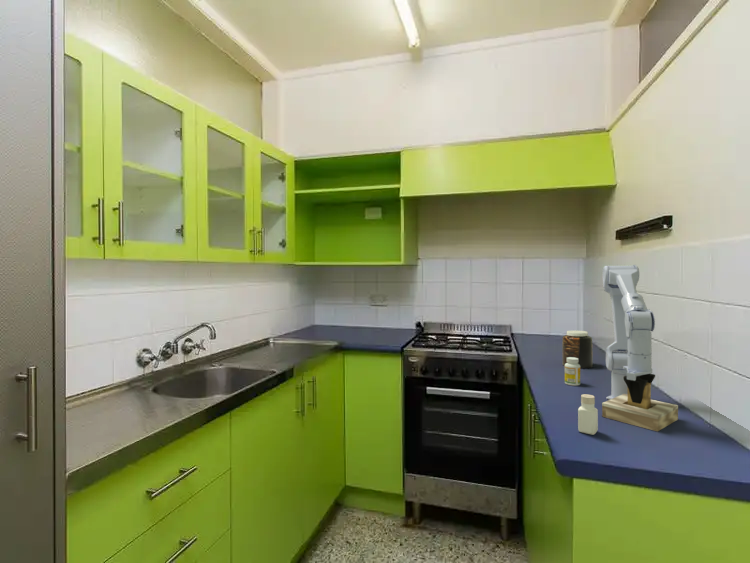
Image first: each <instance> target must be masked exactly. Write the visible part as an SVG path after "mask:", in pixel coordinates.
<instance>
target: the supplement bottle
mask: <svg viewBox="0 0 750 563" xmlns="http://www.w3.org/2000/svg"><path fill="white" fill-rule="evenodd" d="M566 361H567V363H566V364H565V366H564V384H566V385H568V386H573V387H575V386H580V385H581V368H580V365H579V364H578V362H579V361H578V358H574V357H567V360H566Z"/></svg>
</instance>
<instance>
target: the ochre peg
mask: <svg viewBox="0 0 750 563" xmlns="http://www.w3.org/2000/svg"><path fill="white" fill-rule="evenodd" d="M651 387H652V383H646V385H645V388H644V391H643V398H642V402H641V404H639V403H634V402H632V400H631V396H630V392H629V389H628V387H627V395H628V405H630V406H635V407H639V408H643V409H647V410H648V409H649V408H651V400H652V398H651V397H652V396H651V395H652V394H651V392H652V390H651V389H652V388H651Z"/></svg>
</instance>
